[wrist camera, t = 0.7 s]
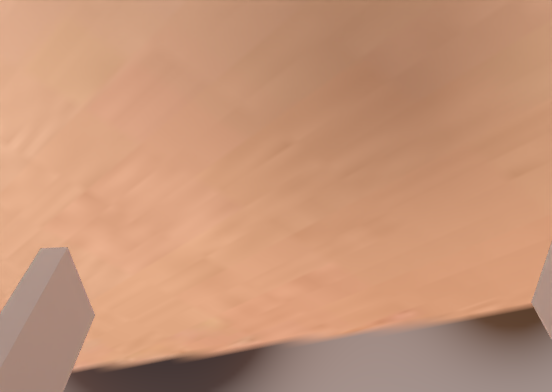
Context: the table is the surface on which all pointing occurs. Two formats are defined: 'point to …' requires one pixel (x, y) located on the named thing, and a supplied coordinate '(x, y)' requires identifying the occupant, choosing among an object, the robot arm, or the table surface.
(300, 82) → the table surface
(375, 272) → the table surface
